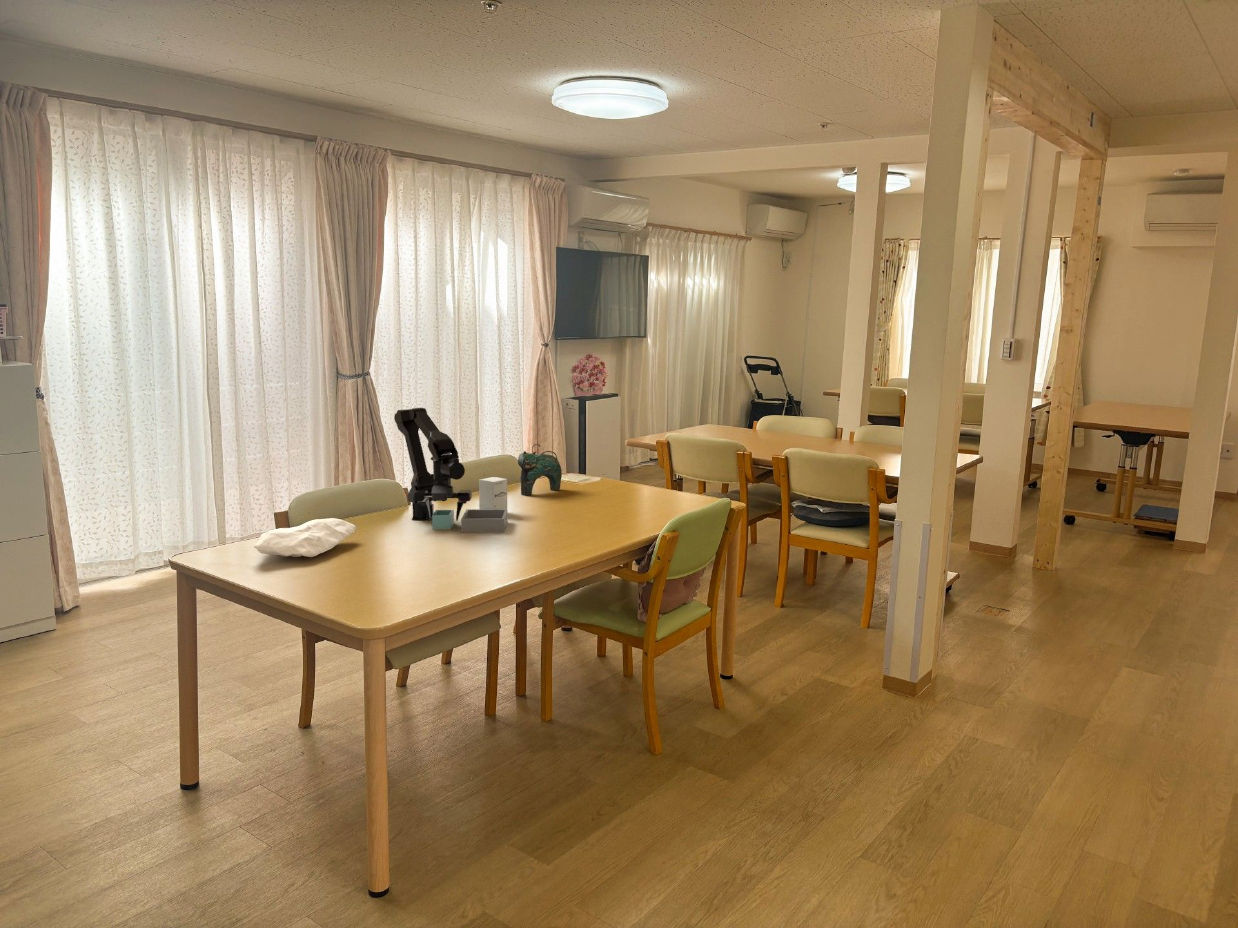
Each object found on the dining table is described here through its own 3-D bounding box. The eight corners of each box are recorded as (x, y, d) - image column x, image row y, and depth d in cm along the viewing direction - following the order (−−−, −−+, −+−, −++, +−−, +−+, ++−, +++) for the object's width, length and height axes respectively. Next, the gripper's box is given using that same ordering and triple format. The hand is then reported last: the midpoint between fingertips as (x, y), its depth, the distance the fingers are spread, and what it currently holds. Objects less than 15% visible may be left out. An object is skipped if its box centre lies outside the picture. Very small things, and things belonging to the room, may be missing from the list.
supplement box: (493, 516, 311) (493, 481, 309) (478, 513, 315) (478, 479, 313) (508, 513, 317) (507, 478, 314) (493, 510, 321) (493, 476, 319)
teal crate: (432, 530, 292) (432, 515, 292) (436, 524, 300) (436, 509, 299) (450, 530, 293) (450, 515, 292) (454, 524, 301) (453, 509, 300)
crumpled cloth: (225, 554, 255) (225, 525, 253) (320, 528, 285) (322, 502, 283) (279, 579, 245) (281, 549, 242) (373, 550, 274) (375, 522, 272)
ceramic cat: (524, 497, 343) (523, 446, 340) (514, 494, 348) (514, 444, 344) (564, 490, 356) (564, 441, 353) (554, 488, 361) (554, 440, 357)
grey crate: (461, 532, 289) (461, 519, 288) (466, 522, 303) (466, 509, 302) (504, 532, 290) (504, 519, 289) (507, 522, 303) (507, 509, 303)
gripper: (409, 479, 285) (410, 526, 288) (467, 479, 286) (468, 526, 289) (415, 473, 296) (416, 518, 299) (471, 473, 297) (472, 518, 300)
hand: (443, 520), depth 296 cm, fingers open, 9 cm apart
